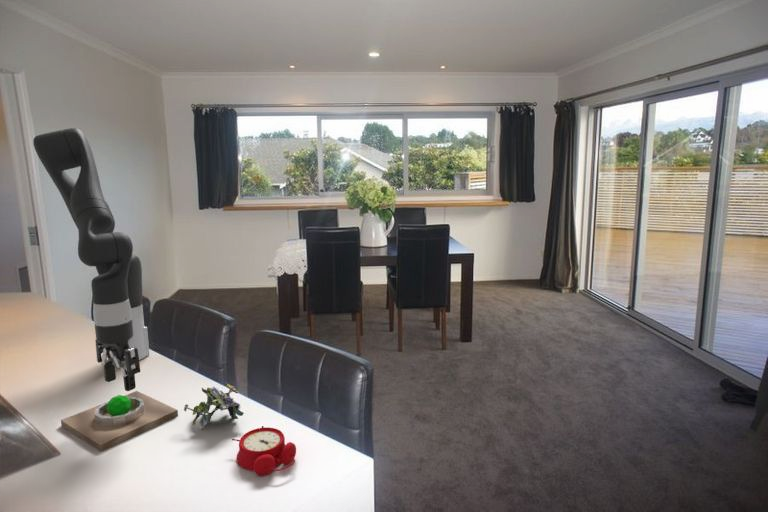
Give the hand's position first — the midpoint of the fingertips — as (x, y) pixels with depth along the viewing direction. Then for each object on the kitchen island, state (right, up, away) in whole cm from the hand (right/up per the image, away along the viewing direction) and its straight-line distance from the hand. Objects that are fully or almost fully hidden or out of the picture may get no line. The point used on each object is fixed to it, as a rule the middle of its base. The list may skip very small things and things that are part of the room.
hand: (120, 385), depth 111 cm
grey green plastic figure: (+23, -9, +1) cm, 24 cm away
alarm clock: (+38, -12, -13) cm, 42 cm away
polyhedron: (0, -8, +1) cm, 8 cm away
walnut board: (0, -9, +1) cm, 9 cm away
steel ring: (0, -7, +1) cm, 7 cm away
